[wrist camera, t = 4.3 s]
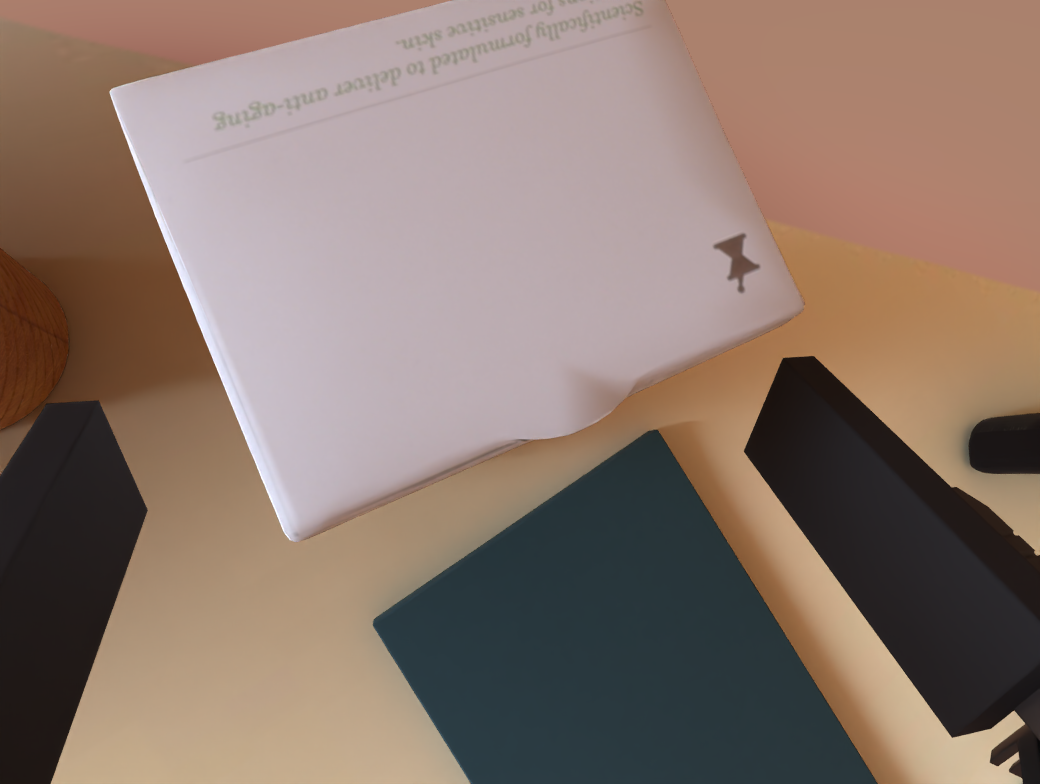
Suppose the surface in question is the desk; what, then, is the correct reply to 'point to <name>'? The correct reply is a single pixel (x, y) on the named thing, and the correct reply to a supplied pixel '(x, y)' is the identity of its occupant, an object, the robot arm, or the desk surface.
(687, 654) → the mat
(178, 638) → the desk surface
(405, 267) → the cosmetic box
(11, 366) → the disposable coffee cup
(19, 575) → the robot arm
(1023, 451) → the dark rounded bar
